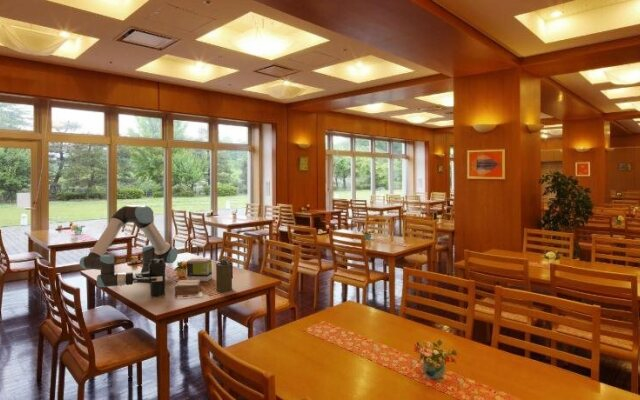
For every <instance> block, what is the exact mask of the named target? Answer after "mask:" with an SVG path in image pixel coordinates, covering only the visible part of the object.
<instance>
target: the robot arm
mask: <svg viewBox="0 0 640 400" xmlns="http://www.w3.org/2000/svg"><path fill="white" fill-rule="evenodd" d="M154 217H155V216H154V211H153V209H152V208H151V207H150V206H147V205H143V204H141V205H131V204H129V205H124V206H121V207H120V208H119V209H118V210H116V211H115V212H114V214H113V215H112V216H111V217H110V219H109V224H108V225H107V226H106V228H104V230H103V232H102V234H101V235H100V236H99V238H98V240H97V241H96V242H95V244H94V245H93V247H92V248H91V250H90V252H89V253H88V254H87V255H85V256H82V257H81V258H80V260H79V266H80V268H81V269H84V270H85V269H86V270H98V271H100V274H98V275H97V276H96V286H97V287H98V288H109V287H117V286H118V287H122V286H125V285H126V286H131V285H133V284H136V283H138V284H150V283H151V282H155V281H163V277H162V276H160V277H151V278H150V277H149V268H148V265H149V263H150V262H151V259H164V262H165V263H166V264H174V263H175V262H176V260H177V259H178V255H179V254H178V253H179V252H178V249H177V247H173V246H171V244H170V242H167V241H166V240H165V239H164V237H163V236H162V234H161V233H160V230H159V229H158V228H157V227H156V224H155V223H154ZM128 223H133V224H134V225H135V227H136V228H138V229H140V230H141V231H142V232H143V234H144V236H146V238H147V239H148V241H149V242H150V244H148V245H145V246H143V247H142V249H141V253H142V254H141V257H142V267H141V270H140V273H135V274H134V273H133V272H132V271H129V272H119V273H118V272H117V273H115V272H116V271H115V269H116V267H115V257H114V254H111V253H106V252H107V250H108V249H109V247H110V246H111V245H112V243H113V241H114V239H115V238H116V237H117V235H118V234H119V232H120V231H121V229H122V228H124V227H125V226H126V224H128ZM105 253H106V254H105Z"/></svg>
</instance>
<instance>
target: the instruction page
mask: <svg viewBox="0 0 640 400" xmlns="http://www.w3.org/2000/svg"><path fill="white" fill-rule="evenodd" d="M202 297H203V292H202V291H199V293H198V294H194V295H177V296H176V299H177V300H181V299H191V298H193V299H194V298H202Z"/></svg>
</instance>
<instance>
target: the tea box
mask: <svg viewBox="0 0 640 400" xmlns="http://www.w3.org/2000/svg"><path fill="white" fill-rule="evenodd" d="M212 261H213V260H212V258H191V259H189V260H187V261H186V274H187V275H186V280H198V279H200V282H208V281H210V280H211V279H212V278H213V266H212V265H213V264H212Z"/></svg>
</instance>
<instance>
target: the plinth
mask: <svg viewBox="0 0 640 400" xmlns="http://www.w3.org/2000/svg"><path fill="white" fill-rule="evenodd" d="M201 282H202V281H200V279H198V280H187V279H182V280H181V279H180V280H177V282H176V284H175V286H174V296H175V297H177V295H194V294H198V293H199V292H201V286H202V285H201Z"/></svg>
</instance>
